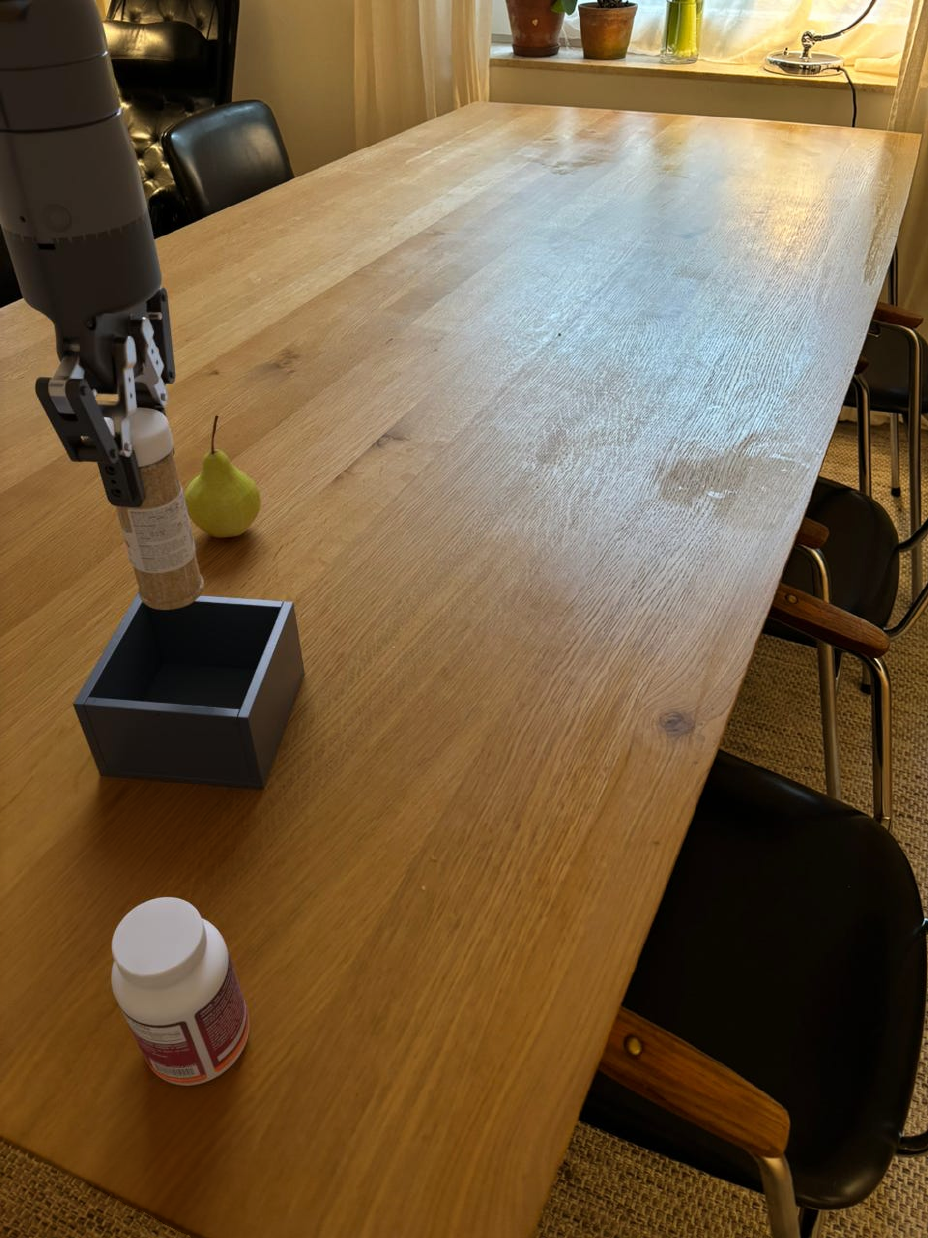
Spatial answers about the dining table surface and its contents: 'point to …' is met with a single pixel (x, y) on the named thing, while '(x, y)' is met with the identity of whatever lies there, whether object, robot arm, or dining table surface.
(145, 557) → the sprinkles bottle
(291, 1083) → the dining table surface
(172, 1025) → the pill bottle
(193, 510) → the fruit
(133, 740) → the dark grey open box
